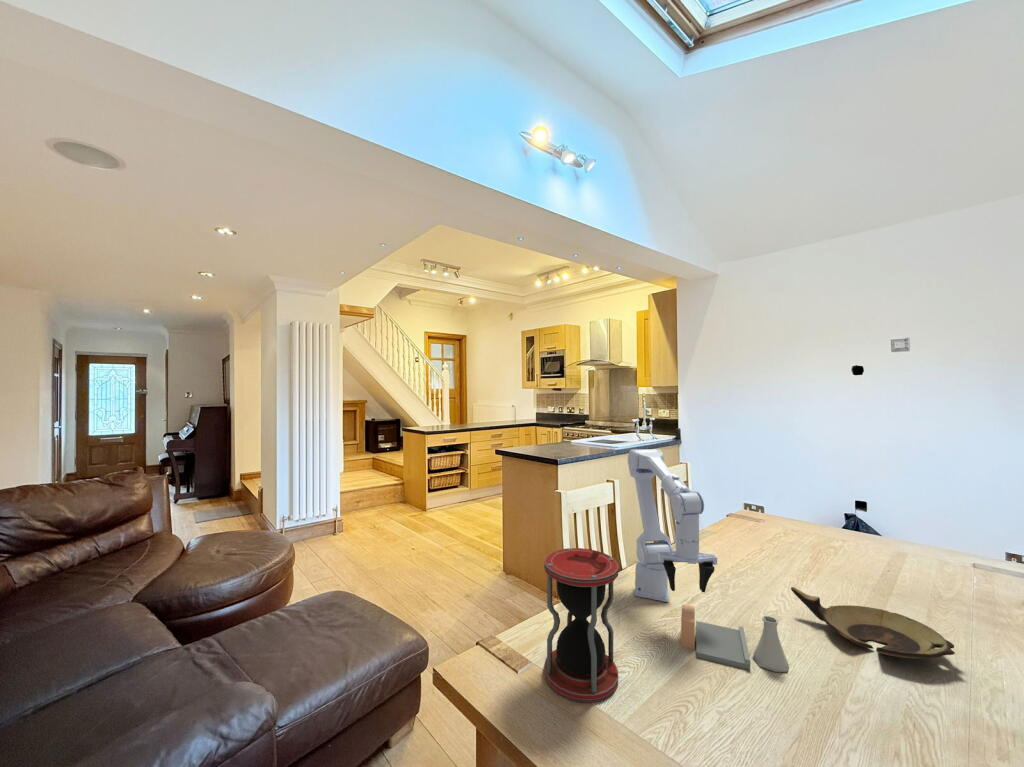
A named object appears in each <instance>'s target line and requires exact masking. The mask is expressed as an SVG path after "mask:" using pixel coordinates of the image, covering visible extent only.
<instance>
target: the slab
mask: <svg viewBox="0 0 1024 767" xmlns="http://www.w3.org/2000/svg"><path fill="white" fill-rule="evenodd" d="M695 612H696V611H695V606H692V605H687V604H684V603H682V604H681V618H680V619H681V620H680V622H681V623H680V624H681V625H680V629H681V630H680V636H681V637H680V644H681V645H680V646H681V648H683V647H684V648H687V649H691V650H695V649H696V648H695V645H696V644H695V642H696V630H695V629H696V625H695V624H696V621H695V620H696V619H695V618H696V617H695V614H696V613H695Z"/></svg>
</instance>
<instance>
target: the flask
mask: <svg viewBox="0 0 1024 767" xmlns="http://www.w3.org/2000/svg"><path fill="white" fill-rule="evenodd" d="M762 621H763V629H762V633H761V636H760V638H759V640H758V643H757V645H756V647H755V649H754V651H753V656H752V659H753V660H754V661H755V663H756V664H757V665H758V667H761V668H763V669H767V670H769V671H772V672H775V673H777V672H781V673H785V672H788V671H789V666H790V665H789V663H788V659H787V657H786V654H785V652H784V649H783V646H782V643H781V640H780V637H779V634H778V633H779V632H778V625H779V620H778V619H777V618H776V617H775V616H771V615H762Z"/></svg>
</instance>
